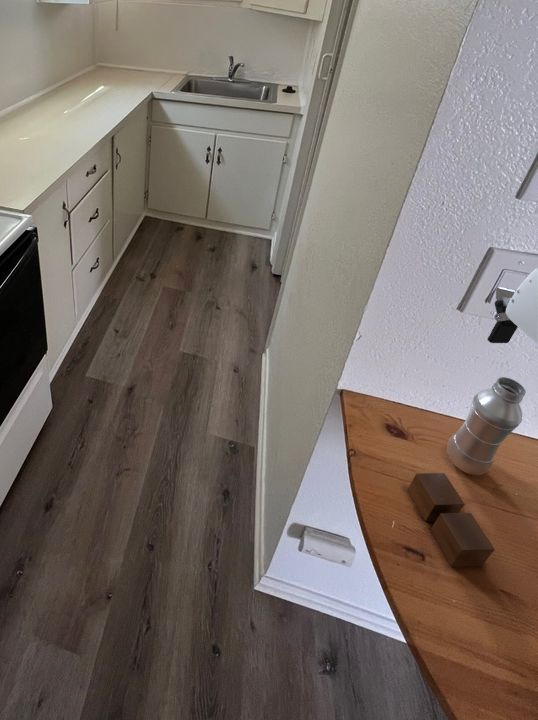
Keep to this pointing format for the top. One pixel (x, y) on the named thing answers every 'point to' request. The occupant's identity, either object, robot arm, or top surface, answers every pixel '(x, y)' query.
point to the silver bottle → (486, 426)
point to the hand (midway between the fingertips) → (521, 365)
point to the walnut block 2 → (461, 539)
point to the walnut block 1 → (434, 495)
